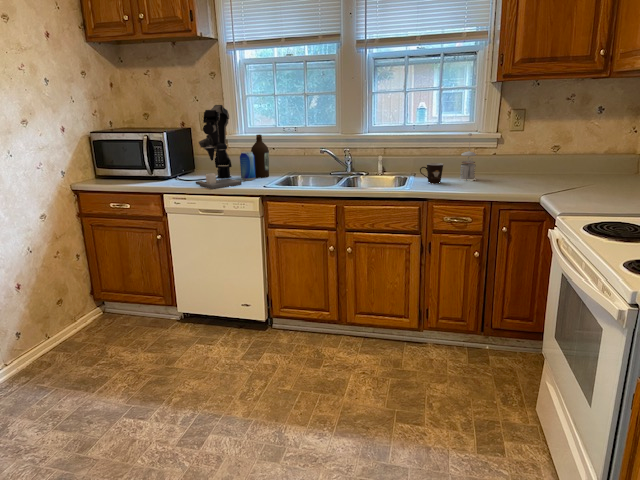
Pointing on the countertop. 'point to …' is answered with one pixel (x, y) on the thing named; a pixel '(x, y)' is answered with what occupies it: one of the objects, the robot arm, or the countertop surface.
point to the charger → (210, 178)
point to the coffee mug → (433, 172)
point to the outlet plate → (221, 183)
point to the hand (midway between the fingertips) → (215, 161)
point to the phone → (199, 182)
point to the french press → (468, 165)
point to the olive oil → (261, 158)
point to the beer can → (247, 166)
